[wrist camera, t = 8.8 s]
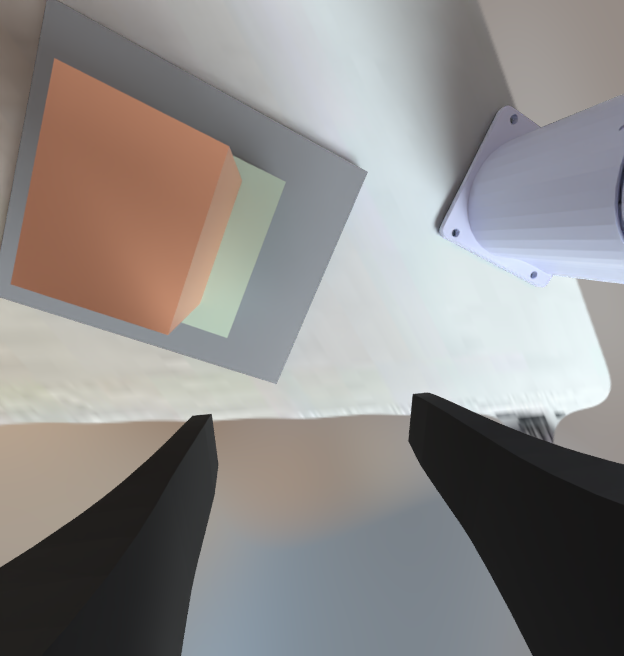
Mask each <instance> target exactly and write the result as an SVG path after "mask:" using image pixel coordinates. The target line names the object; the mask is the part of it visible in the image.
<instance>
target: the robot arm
mask: <svg viewBox="0 0 624 656" xmlns="http://www.w3.org/2000/svg"><path fill="white" fill-rule="evenodd" d="M510 118H512V119H513V123H512V124H511V122H510ZM453 230H455V231H456V234H455V236H454V237H453V236H452V231H453ZM439 233H440V235H441V236H442V237H443V238H445V239H447V240H449V241H451V242H453V243H455V244H457V245H458V246H460V247H462V248H464V249H466V250H468V251H470V252H472V253H474V254H476V255H477V256H479V257H481V258H483V259H485V260H487V261H489V262H491V263H493V264H494V265H496V266H498V267H500V268H502V269H504V270H506V271H508V272H510V273H512V274H513V275H515V276H517V277H519V278H521V279H523V280H525V281H527V282H529V283H531V284H532V285H534V286H537V287H545V286H546V285H547V284H548V283H549V281H550V279H551V278H552V276H553V275H554V276H563V277H571V278H579V279H588V280H596V281H604V282H613V283H621V284H624V94H622V95H619V96H617V97H614V98H612V99H610V100H608V101H605V102H602V103H600V104H597V105H595V106H593V107H590V108H588V109H585V110H583V111H580V112H578V113H576V114H573V115H570V116H568V117H566V118H563V119H561V120H558V121H556V122H553V123H551V124H548V125H546V126H544V127H540V126H538V125H537V124H535V123H534V122H533V121H531V120H530V119H529V118H527V117H526V116H524V115H523V114H522V113H520V112H519V111H517V110H516V109H515V108H513V107H512V106H509V105H508V106H505V107H503V108H501V109H500V110H499V111H498V112H497V114H496V116H495V118H494V120H493V122H492V124H491V126H490V128H489V130H488V132H487V134H486V136H485V138H484V140H483V142H482V144H481V146H480V148H479V150H478V152H477V154H476V156H475V158H474V160H473V162H472V164H471V166H470V168H469V170H468V172H467V174H466V176H465V178H464V180H463V182H462V184H461V186H460V188H459V190H458V192H457V194H456V196H455V198H454V200H453V202H452V204H451V206H450V208H449V210H448V212H447V214H446V216H445V218H444V220H443V222H442V224H441V226H440V229H439ZM531 273H532V276H530V275H531ZM409 443H410V445H411V447H412V449H413V451H414V453H415V455H416V457H417V459H418V461H419V463H420V465H421V467H422V468H423V469H424V471H425V472H426V474H427V476H428V477H429V479H430V480H431V482H432V483H433V485H434V486H435V487H436V489H437V490H438V492H439V493H440V495H441V496H442V498H443V499H444V501H445V502H446V503H447V505H448V506H449V508H450V509H451V511H452V512H453V514H454V515H455V517H456V518H457V519H458V521H459V522H460V524H461V525H462V527H463V528H464V530H465V532H466V533H467V535H468V536H469V538H470V539H471V541H472V543H473V544H474V546H475V548H476V550H477V551H478V553H479V555H480V557H481V559H482V560H483V562H484V564H485V566H486V567H487V569H488V571H489V573H490V574H491V576H492V578H493V580H494V582H495V584H496V586H497V587H498V589H499V591H500V593H501V595H502V597H503V599H504V601H505V603H506V604H507V606H508V608H509V610H510V612H511V613H512V616H513V618H514V619H515V622H516V624H517V626H518V628H519V630H520V632H521V634H522V635H523V637H524V639H525V641H526V643H527V645H528V647H529V649H530V651H531V653H532V655H533V656H624V464H619V463H616V462H612V461H608V460H605V459H601V458H598V457H594V456H591V455H587V454H583V453H580V452H577V451H574V450H570V449H567V448H564V447H561V446H558V445H555V444H552V443H549V442H547V441H544V440H541V439H538V438H535V437H532V436H530V435H527V434H524V433H522V432H519V431H517V430H514V429H512V428H509V427H507V426H505V425H502V424H499V423H497V422H495V421H493V420H490V419H488V418H486V417H484V416H481V415H479V414H477V413H475V412H472V411H470V410H468V409H466V408H464V407H462V406H459V405H457V404H455V403H453V402H450V401H448V400H446V399H444V398H441V397H439V396H436V395H434V394H431V393H419V394H413V397H412V408H411V418H410V430H409ZM217 471H218V459H217V451H216V443H215V436H214V428H213V421H212V414H206V415H196V416H192V417H191V418H190V419H189V420H188V421H187V422H186V423H185V424H184V425H183V426H182V427H181V428H180V429H179V430H178V431H177V432H176V433H175V434H174V435H173V436H172V437H171V438H170V439H169V440H168V441H167V442H166V443H165V444H164V445H163V446H162V447H161V448H160V449H159V450H158V451H156V452H155V453H154V454H153V455H152V456H151V457H150V458H149V459H148V460H147V461H146V462H144V463H143V464H142V465H141V466H140V467H139V468H138V469H137V470H135V471H134V472H133V473H132V474H131V475H130V476H129V477H128V478H126V479H125V480H124V481H123V482H122V483H120V484H119V485H118V486H117V487H116V488H114V489H113V490H112V491H111V492H109V493H108V494H107V495H106V496H104V497H103V498H102V499H101V500H99V501H98V502H96V503H95V504H94V505H92V506H91V507H90V508H88V509H87V510H86V511H84V512H83V513H82V514H80V515H79V516H78V517H76V518H75V519H73V520H72V521H70V522H69V523H67V524H66V525H64V526H63V527H61V528H60V529H59V530H57V531H56V532H54V533H53V534H51V535H50V536H48V537H47V538H45V539H44V540H42V541H41V542H39V543H38V544H36V545H35V546H34V547H32V548H31V549H29V550H27V551H26V552H24V553H22V554H21V555H19V556H18V557H16V558H14V559H13V560H11V561H10V562H8V563H7V564H5V565H4V566H2V567H0V656H181V652H182V646H183V639H184V633H185V627H186V620H187V614H188V608H189V602H190V596H191V590H192V585H193V580H194V576H195V571H196V567H197V563H198V558H199V555H200V551H201V547H202V543H203V539H204V535H205V531H206V527H207V523H208V519H209V515H210V511H211V507H212V502H213V499H214V494H215V487H216V479H217Z"/></svg>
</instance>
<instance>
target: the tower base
mask: <svg viewBox="0 0 624 656" xmlns="http://www.w3.org/2000/svg"><path fill="white" fill-rule="evenodd" d="M54 58H55V59H57V60H59V61H61V62H63V63H65V64H67V65H69V66H71V67H73V68H75V69H77V70H79V71H81V72H83V73H85V74H87V75H89V76H91V77H93V78H95V79H97V80H99V81H101V82H103V83H105V84H107V85H109V86H111V87H113V88H115V89H117V90H119V91H121V92H123V93H125V94H127V95H129V96H131V97H133V98H135V99H137V100H139V101H141V102H143V103H145V104H146V105H148V106H150V107H152V108H154V109H156V110H158V111H160V112H162V113H164V114H166V115H168V116H170V117H172V118H174V119H176V120H178V121H180V122H182V123H184V124H186V125H188V126H190V127H192V128H194V129H196V130H198V131H200V132H202V133H204V134H206V135H208V136H210V137H212V138H214V139H216V140H218V141H220V142H222V143H224V144H226V145H228V146H229V147H230V149H231V152H232V155H233V158H234V160H235V163H236V166H237V168H238V171H239V174H240V176H241V179H242V183H241V185H240V188H239V191H238V194H237V197H236V200H235V203H234V206H233V209H232V212H231V215H230V218H229V221H228V223H227V226H226V229H225V232H224V235H223V238H222V241H221V244H220V247H219V250H218V253H217V256H216V259H215V261H214V264H213V267H212V270H211V273H210V276H209V279H208V282H207V285H206V288H205V291H204V294H203V296H202V299H201V302H200V304H199V305H198V306H197V307H196V308H195V309H194V310H193V311H192V312H191V313H190V314H189V315H188V316H187V317H186V318H185V319H184V320H183V321H182V322H181V323H180V324H179V325H178V326H177V327H176V328H175V329H174V330H173V331H172V332H171V333H170V334H169V335H166V334H163V333H160V332H157V331H154V330H150V329H147V328H144V327H141V326H138V325H135V324H132V323H129V322H126V321H123V320H119V319H116V318H113V317H110V316H107V315H104V314H101V313H98V312H95V311H92V310H89V309H85V308H82V307H79V306H76V305H73V304H70V303H67V302H64V301H61V300H58V299H55V298H51V297H48V296H45V295H42V294H39V293H36V292H33V291H30V290H27V289H24V288H20V287H17V286H14V285H11V279H12V274H13V269H14V264H15V259H16V254H17V248H18V243H19V238H20V233H21V228H22V223H23V217H24V212H25V207H26V202H27V197H28V192H29V186H30V181H31V176H32V171H33V166H34V161H35V156H36V150H37V145H38V140H39V135H40V130H41V125H42V119H43V114H44V109H45V104H46V99H47V94H48V88H49V83H50V78H51V73H52V68H53V63H54ZM367 173H368V172H367V171H365V170H363V169H361V168H360V167H358V166H356V165H354V164H352V163H350V162H349V161H347V160H345V159H343V158H341V157H340V156H338V155H336V154H334V153H332V152H331V151H329V150H327V149H325V148H323V147H322V146H320V145H318V144H316V143H314V142H312V141H311V140H309V139H307V138H305V137H303V136H302V135H300V134H298V133H296V132H294V131H293V130H291V129H289V128H287V127H285V126H284V125H282V124H280V123H278V122H276V121H274V120H273V119H271V118H269V117H267V116H265V115H264V114H262V113H260V112H258V111H256V110H255V109H253V108H251V107H249V106H247V105H246V104H244V103H242V102H240V101H238V100H236V99H235V98H233V97H231V96H229V95H227V94H226V93H224V92H222V91H220V90H218V89H217V88H215V87H213V86H211V85H209V84H208V83H206V82H204V81H202V80H200V79H198V78H197V77H195V76H193V75H191V74H189V73H188V72H186V71H184V70H182V69H180V68H179V67H177V66H175V65H173V64H171V63H170V62H168V61H166V60H164V59H162V58H160V57H159V56H157V55H155V54H153V53H151V52H150V51H148V50H146V49H144V48H142V47H141V46H139V45H137V44H135V43H133V42H132V41H130V40H128V39H126V38H124V37H122V36H121V35H119V34H117V33H115V32H113V31H112V30H110V29H108V28H106V27H104V26H103V25H101V24H99V23H97V22H95V21H94V20H92V19H90V18H88V17H86V16H84V15H83V14H81V13H79V12H77V11H75V10H74V9H72V8H70V7H68V6H66V5H65V4H63V3H61V2H59V1H57V0H47V1H46V7H45V12H44V18H43V23H42V28H41V34H40V39H39V45H38V50H37V55H36V61H35V66H34V72H33V77H32V83H31V88H30V93H29V99H28V104H27V110H26V115H25V121H24V126H23V131H22V137H21V142H20V148H19V153H18V158H17V164H16V169H15V175H14V180H13V186H12V191H11V196H10V202H9V207H8V213H7V218H6V223H5V229H4V234H3V240H2V245H1V251H0V298H3V299H7V300H10V301H13V302H16V303H19V304H23V305H26V306H29V307H32V308H35V309H39V310H42V311H45V312H48V313H51V314H55V315H58V316H61V317H64V318H67V319H71V320H74V321H77V322H80V323H83V324H86V325H90V326H93V327H96V328H99V329H102V330H106V331H109V332H112V333H115V334H118V335H122V336H125V337H128V338H131V339H134V340H138V341H141V342H144V343H147V344H150V345H154V346H157V347H160V348H163V349H166V350H170V351H173V352H176V353H179V354H182V355H186V356H189V357H192V358H195V359H198V360H201V361H205V362H208V363H211V364H214V365H217V366H221V367H224V368H227V369H230V370H233V371H237V372H240V373H243V374H246V375H249V376H253V377H256V378H259V379H262V380H265V381H269V382H272V383H275V384H277V382H278V379H279V377H280V375H281V372H282V370H283V368H284V365H285V363H286V361H287V358H288V356H289V354H290V351H291V349H292V347H293V345H294V342H295V340H296V338H297V335H298V333H299V331H300V328H301V326H302V324H303V321H304V319H305V317H306V314H307V312H308V310H309V307H310V305H311V303H312V300H313V298H314V296H315V293H316V291H317V289H318V286H319V284H320V282H321V279H322V277H323V275H324V272H325V270H326V268H327V265H328V263H329V261H330V259H331V256H332V254H333V252H334V249H335V247H336V245H337V242H338V240H339V238H340V235H341V233H342V231H343V228H344V226H345V224H346V221H347V219H348V217H349V214H350V212H351V210H352V207H353V205H354V203H355V200H356V198H357V196H358V193H359V191H360V189H361V186H362V184H363V182H364V180H365V177H366V175H367Z"/></svg>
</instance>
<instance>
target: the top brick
mask: <svg viewBox="0 0 624 656" xmlns="http://www.w3.org/2000/svg"><path fill="white" fill-rule="evenodd" d="M241 183H242V179H241V176H240V174H239V171H238V168H237V166H236V163H235V160H234V158H233V155H232V152H231V149H230V147H229V146H228V145H226V144H224V143H222V142H220V141H218V140H216V139H214V138H212V137H210V136H208V135H206V134H204V133H202V132H200V131H198V130H196V129H194V128H192V127H190V126H188V125H186V124H184V123H182V122H180V121H178V120H176V119H174V118H172V117H170V116H168V115H166V114H164V113H162V112H160V111H158V110H156V109H154V108H152V107H150V106H148V105H146V104H145V103H143V102H141V101H139V100H137V99H135V98H133V97H131V96H129V95H127V94H125V93H123V92H121V91H119V90H117V89H115V88H113V87H111V86H109V85H107V84H105V83H103V82H101V81H99V80H97V79H95V78H93V77H91V76H89V75H87V74H85V73H83V72H81V71H79V70H77V69H75V68H73V67H71V66H69V65H67V64H65V63H63V62H61V61H59V60H57V59H55V58H54V63H53V68H52V73H51V78H50V83H49V88H48V94H47V99H46V104H45V109H44V114H43V119H42V125H41V130H40V135H39V140H38V145H37V150H36V156H35V161H34V166H33V171H32V176H31V181H30V186H29V192H28V197H27V202H26V207H25V212H24V217H23V223H22V228H21V233H20V238H19V243H18V248H17V254H16V259H15V264H14V269H13V274H12V279H11V285H14V286H17V287H20V288H24V289H27V290H30V291H33V292H36V293H39V294H42V295H45V296H48V297H51V298H55V299H58V300H61V301H64V302H67V303H70V304H73V305H76V306H79V307H82V308H85V309H89V310H92V311H95V312H98V313H101V314H104V315H107V316H110V317H113V318H116V319H119V320H123V321H126V322H129V323H132V324H135V325H138V326H141V327H144V328H147V329H150V330H154V331H157V332H160V333H163V334H166V335H169V334H170V333H171V332H172V331H173V330H174V329H175V328H176V327H177V326H178V325H179V324H180V323H181V322H182V321H183V320H184V319H185V318H186V317H187V316H188V315H189V314H190V313H191V312H192V311H193V310H194V309H195V308H196V307H197V306H198V305H199V304H200V302H201V299H202V296H203V294H204V291H205V288H206V285H207V282H208V279H209V276H210V273H211V270H212V267H213V264H214V261H215V259H216V256H217V253H218V250H219V247H220V244H221V241H222V238H223V235H224V232H225V229H226V226H227V223H228V221H229V218H230V215H231V212H232V209H233V206H234V203H235V200H236V197H237V194H238V191H239V188H240V185H241Z"/></svg>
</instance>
